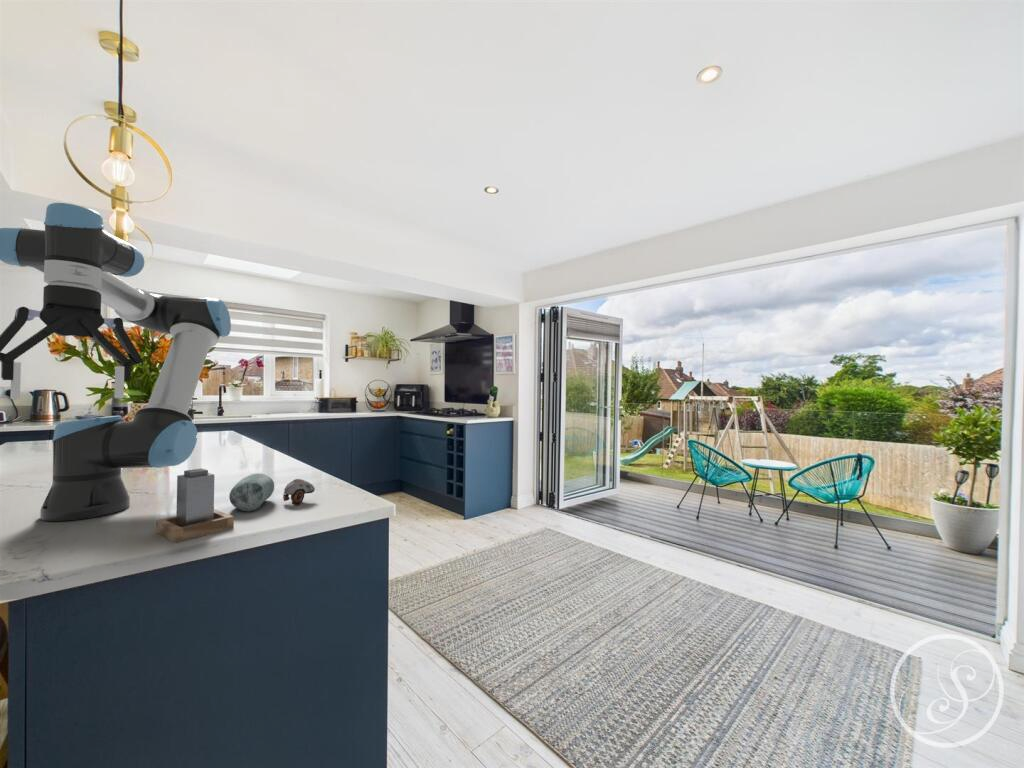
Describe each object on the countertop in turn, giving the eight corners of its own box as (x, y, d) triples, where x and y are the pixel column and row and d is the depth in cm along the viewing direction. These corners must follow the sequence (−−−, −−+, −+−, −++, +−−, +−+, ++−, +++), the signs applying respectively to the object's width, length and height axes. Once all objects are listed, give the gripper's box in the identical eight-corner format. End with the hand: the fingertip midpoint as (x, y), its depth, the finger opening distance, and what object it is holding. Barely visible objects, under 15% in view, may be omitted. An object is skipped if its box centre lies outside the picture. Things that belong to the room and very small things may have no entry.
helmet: (282, 502, 109) (283, 478, 110) (313, 498, 114) (314, 475, 114) (284, 507, 105) (284, 482, 105) (316, 503, 109) (316, 479, 109)
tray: (155, 532, 86) (156, 520, 86) (212, 519, 95) (212, 508, 95) (175, 542, 81) (176, 530, 81) (233, 527, 90) (233, 516, 90)
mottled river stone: (268, 500, 100) (252, 464, 101) (228, 520, 97) (212, 483, 99) (288, 499, 113) (274, 467, 114) (253, 517, 110) (239, 484, 112)
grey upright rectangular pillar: (176, 531, 87) (177, 471, 87) (203, 524, 91) (204, 467, 92) (185, 536, 84) (186, 473, 85) (213, 529, 89) (214, 469, 89)
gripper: (-33, 268, 65) (-36, 400, 65) (163, 298, 86) (160, 398, 86) (-39, 274, 69) (-42, 399, 69) (149, 302, 90) (147, 397, 90)
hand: (70, 398), depth 77 cm, fingers open, 13 cm apart
